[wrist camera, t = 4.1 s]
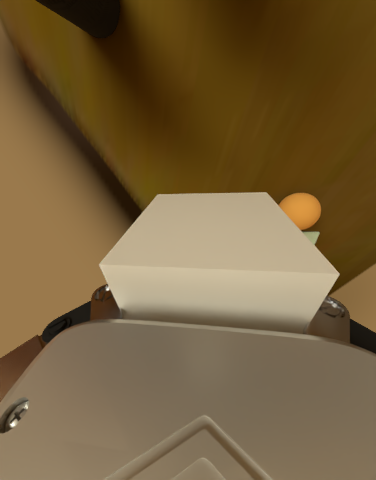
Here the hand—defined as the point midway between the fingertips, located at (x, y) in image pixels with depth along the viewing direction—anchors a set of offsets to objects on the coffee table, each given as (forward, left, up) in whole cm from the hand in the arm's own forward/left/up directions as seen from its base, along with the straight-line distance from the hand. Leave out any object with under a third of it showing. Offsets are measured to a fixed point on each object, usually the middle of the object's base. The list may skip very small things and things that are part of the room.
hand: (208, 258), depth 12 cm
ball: (-12, +2, -13) cm, 18 cm away
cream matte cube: (0, 0, -3) cm, 3 cm away
